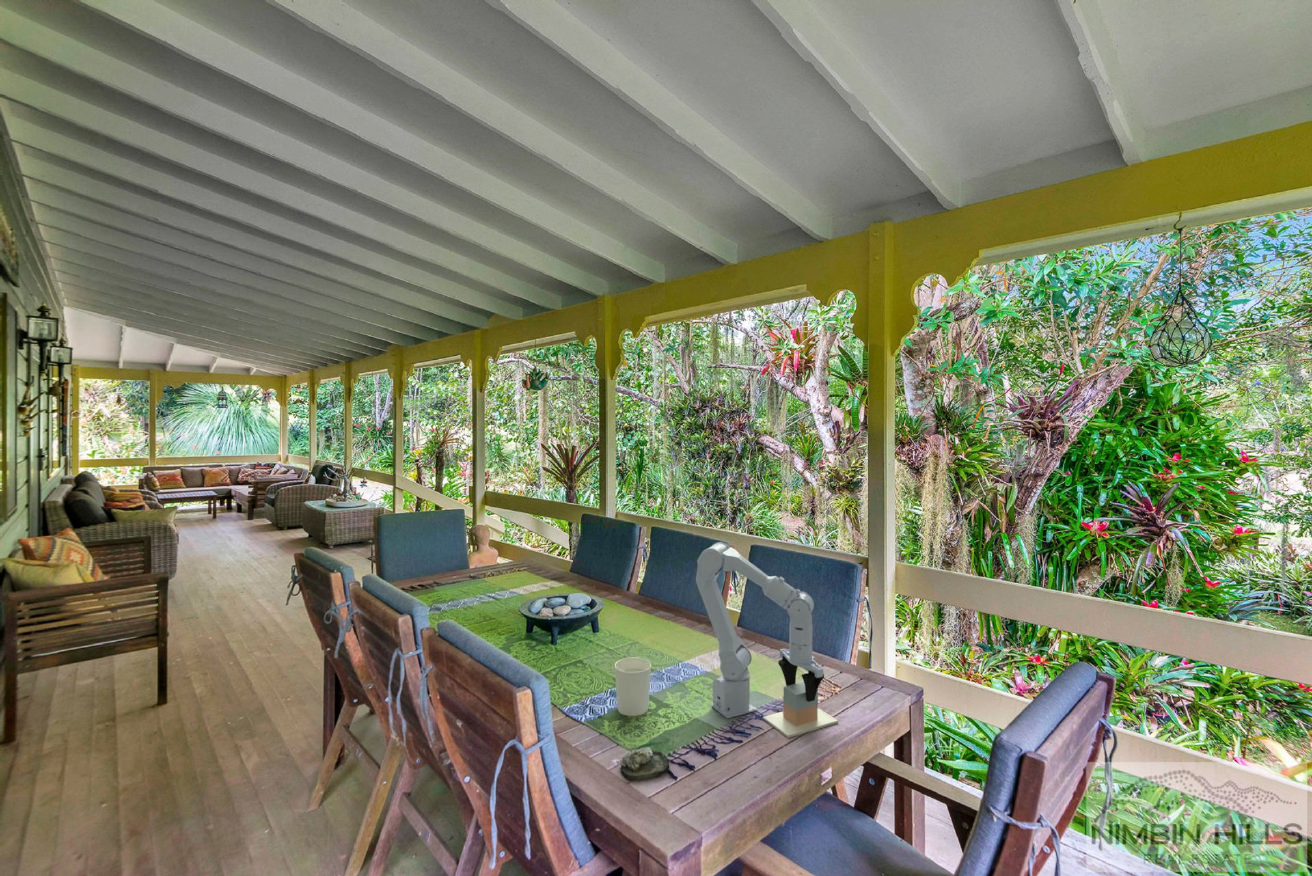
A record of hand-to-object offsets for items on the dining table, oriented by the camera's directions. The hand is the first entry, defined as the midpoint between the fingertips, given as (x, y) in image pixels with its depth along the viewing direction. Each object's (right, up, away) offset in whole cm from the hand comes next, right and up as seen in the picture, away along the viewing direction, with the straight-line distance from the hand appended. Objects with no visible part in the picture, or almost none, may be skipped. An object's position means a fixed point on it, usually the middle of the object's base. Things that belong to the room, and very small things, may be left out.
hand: (800, 694), depth 149 cm
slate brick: (0, -2, 0) cm, 2 cm away
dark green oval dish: (-40, -8, -20) cm, 45 cm away
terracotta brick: (0, -6, 0) cm, 6 cm away
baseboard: (0, -7, 0) cm, 7 cm away
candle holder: (-43, -7, +7) cm, 44 cm away
